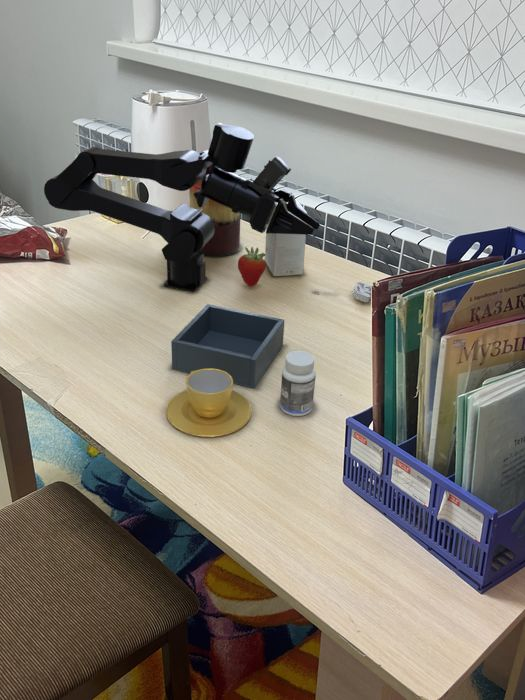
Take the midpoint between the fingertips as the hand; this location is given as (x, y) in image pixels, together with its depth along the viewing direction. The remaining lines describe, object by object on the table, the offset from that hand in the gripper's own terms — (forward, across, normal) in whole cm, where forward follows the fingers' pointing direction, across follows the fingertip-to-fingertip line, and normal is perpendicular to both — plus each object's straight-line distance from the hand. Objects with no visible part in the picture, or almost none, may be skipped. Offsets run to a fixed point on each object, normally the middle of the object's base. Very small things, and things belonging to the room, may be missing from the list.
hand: (316, 229), depth 120 cm
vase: (-20, +24, +16) cm, 35 cm away
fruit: (-8, +8, +16) cm, 20 cm away
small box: (-4, +18, +12) cm, 22 cm away
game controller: (+10, +9, +10) cm, 17 cm away
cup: (-1, -33, +25) cm, 41 cm away
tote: (-3, -18, +22) cm, 28 cm away
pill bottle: (+10, -28, +21) cm, 36 cm away
